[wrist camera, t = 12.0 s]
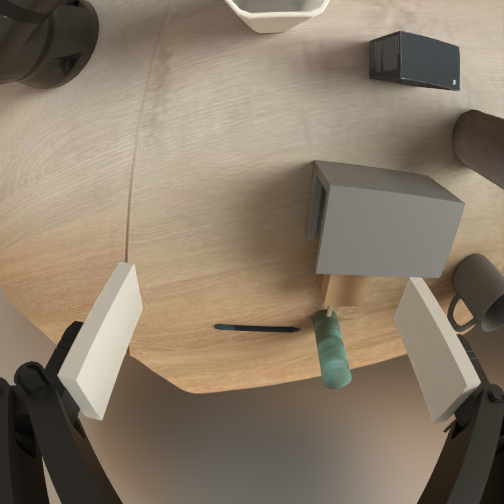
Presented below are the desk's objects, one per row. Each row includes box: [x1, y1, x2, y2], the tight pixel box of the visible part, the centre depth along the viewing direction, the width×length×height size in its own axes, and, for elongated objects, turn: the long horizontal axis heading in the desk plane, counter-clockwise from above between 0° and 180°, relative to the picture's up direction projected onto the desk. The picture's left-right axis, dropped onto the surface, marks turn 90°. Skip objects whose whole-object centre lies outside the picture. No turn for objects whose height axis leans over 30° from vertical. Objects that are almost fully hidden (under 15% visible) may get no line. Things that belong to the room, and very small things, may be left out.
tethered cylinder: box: [313, 274, 371, 389], centre depth 45 cm, size 6×17×14 cm, turn 177°
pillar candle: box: [453, 110, 504, 190], centre depth 30 cm, size 10×10×15 cm
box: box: [370, 31, 460, 91], centre depth 28 cm, size 8×6×11 cm
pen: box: [215, 324, 300, 332], centre depth 56 cm, size 1×16×1 cm, turn 88°
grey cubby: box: [305, 160, 465, 278], centre depth 38 cm, size 18×11×11 cm, turn 87°
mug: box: [447, 254, 504, 332], centre depth 44 cm, size 14×9×12 cm
